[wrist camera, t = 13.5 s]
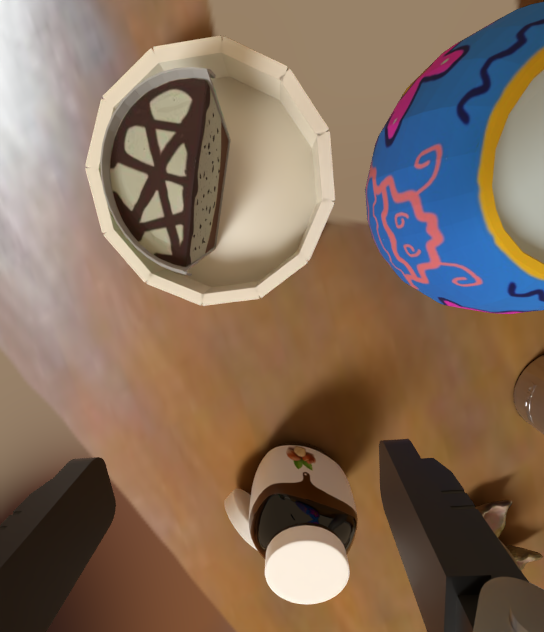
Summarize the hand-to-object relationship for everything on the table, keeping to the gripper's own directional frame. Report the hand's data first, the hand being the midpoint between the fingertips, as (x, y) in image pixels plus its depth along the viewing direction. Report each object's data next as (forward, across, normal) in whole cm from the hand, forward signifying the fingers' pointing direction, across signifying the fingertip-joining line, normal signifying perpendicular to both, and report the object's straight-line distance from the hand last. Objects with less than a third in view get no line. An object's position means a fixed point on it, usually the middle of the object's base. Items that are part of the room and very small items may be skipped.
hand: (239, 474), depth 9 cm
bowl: (+23, +4, -11) cm, 26 cm away
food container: (+22, +6, -11) cm, 26 cm away
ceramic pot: (+24, -16, -8) cm, 30 cm away
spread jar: (+24, +1, +21) cm, 32 cm away
